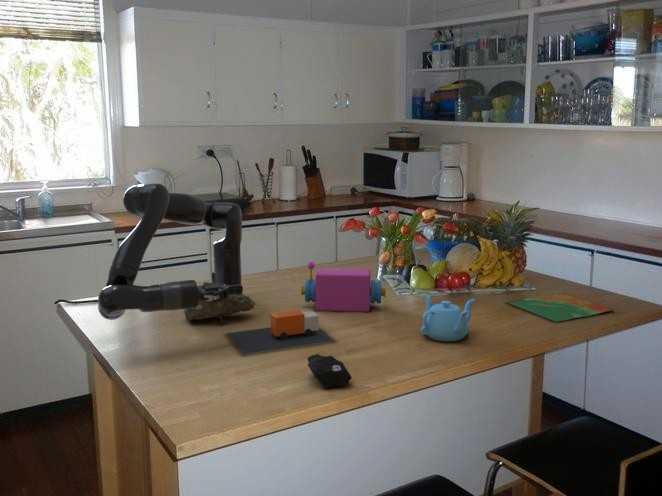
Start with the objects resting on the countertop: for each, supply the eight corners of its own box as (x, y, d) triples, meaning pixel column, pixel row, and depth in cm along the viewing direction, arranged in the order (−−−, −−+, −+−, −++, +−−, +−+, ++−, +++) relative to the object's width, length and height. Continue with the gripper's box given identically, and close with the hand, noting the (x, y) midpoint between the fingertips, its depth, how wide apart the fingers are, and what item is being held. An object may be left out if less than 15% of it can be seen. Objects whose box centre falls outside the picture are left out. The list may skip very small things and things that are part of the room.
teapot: (414, 341, 186) (415, 306, 184) (424, 324, 200) (425, 292, 198) (467, 347, 182) (468, 311, 180) (473, 329, 196) (475, 296, 194)
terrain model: (563, 294, 233) (563, 292, 233) (614, 311, 213) (615, 309, 213) (507, 302, 223) (507, 301, 222) (555, 321, 203) (555, 319, 202)
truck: (276, 317, 184) (319, 312, 189) (270, 312, 189) (312, 307, 194) (276, 340, 185) (319, 334, 190) (270, 334, 190) (312, 329, 195)
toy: (385, 304, 221) (386, 260, 218) (385, 312, 212) (386, 267, 210) (303, 302, 223) (302, 259, 221) (299, 310, 215) (299, 265, 212)
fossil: (252, 297, 214) (254, 278, 201) (258, 325, 210) (260, 307, 197) (183, 310, 209) (180, 291, 196) (188, 338, 205) (186, 321, 192)
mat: (243, 355, 175) (243, 353, 175) (227, 334, 192) (227, 333, 192) (334, 342, 185) (334, 340, 185) (311, 323, 202) (311, 322, 202)
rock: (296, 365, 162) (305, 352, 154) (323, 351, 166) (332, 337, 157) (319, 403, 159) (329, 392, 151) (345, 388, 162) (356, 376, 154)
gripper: (182, 287, 168) (248, 280, 175) (173, 276, 180) (235, 270, 187) (183, 316, 169) (249, 308, 176) (174, 302, 181) (236, 295, 188)
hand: (241, 288), depth 181 cm, fingers closed
